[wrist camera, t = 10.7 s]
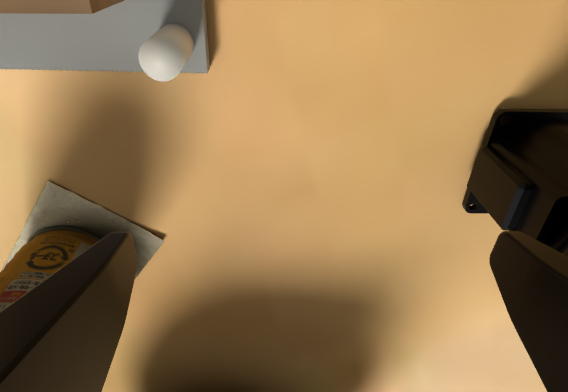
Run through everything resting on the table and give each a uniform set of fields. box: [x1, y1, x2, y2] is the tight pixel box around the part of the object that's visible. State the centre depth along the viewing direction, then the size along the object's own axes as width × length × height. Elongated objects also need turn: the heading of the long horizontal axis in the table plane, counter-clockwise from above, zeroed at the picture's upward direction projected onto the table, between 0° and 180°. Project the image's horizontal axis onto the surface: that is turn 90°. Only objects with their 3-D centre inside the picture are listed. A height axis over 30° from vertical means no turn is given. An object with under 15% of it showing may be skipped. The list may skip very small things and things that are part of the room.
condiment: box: [0, 181, 164, 312], centre depth 20 cm, size 7×8×12 cm
